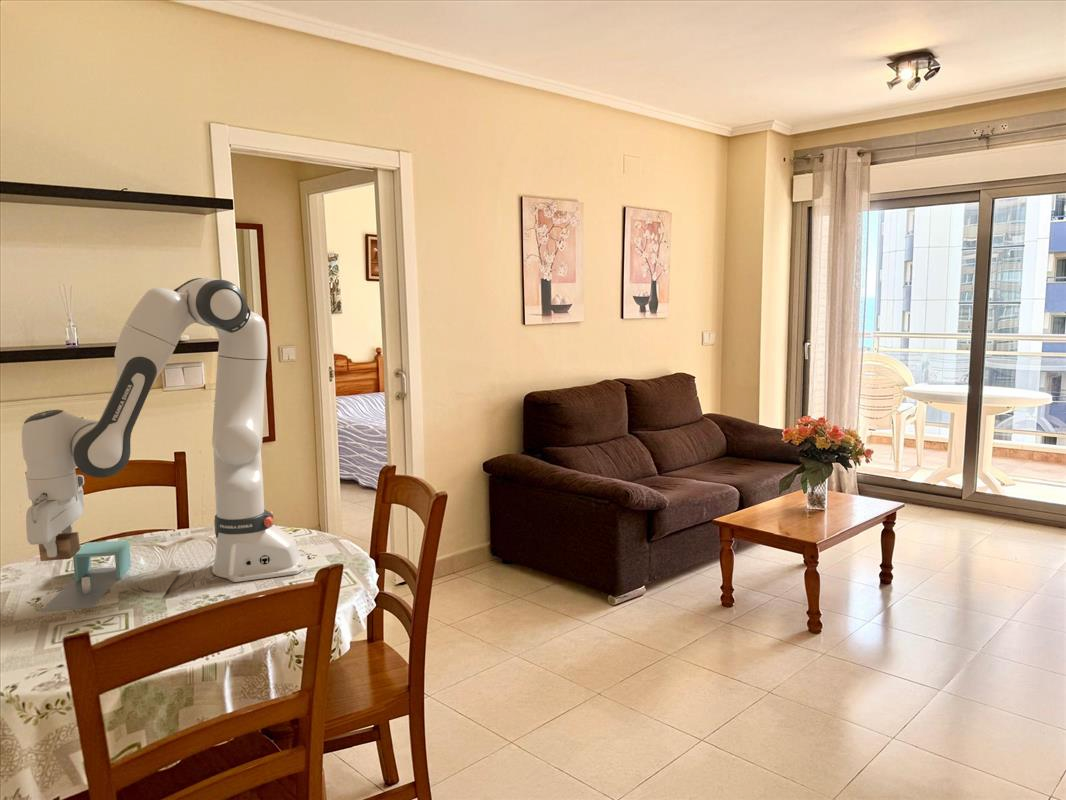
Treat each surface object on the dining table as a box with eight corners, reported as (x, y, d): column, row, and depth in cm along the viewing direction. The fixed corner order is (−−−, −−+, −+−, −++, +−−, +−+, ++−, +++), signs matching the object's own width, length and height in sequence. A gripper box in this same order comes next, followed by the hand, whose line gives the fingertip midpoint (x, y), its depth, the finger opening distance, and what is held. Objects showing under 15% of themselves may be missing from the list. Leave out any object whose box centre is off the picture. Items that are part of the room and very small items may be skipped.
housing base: (128, 570, 184) (127, 552, 183) (93, 612, 160) (91, 592, 160) (83, 573, 182) (82, 555, 181) (41, 615, 158) (39, 595, 158)
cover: (131, 565, 183) (129, 540, 182) (120, 578, 175) (118, 551, 174) (87, 568, 181) (85, 542, 180) (75, 581, 173) (72, 554, 172)
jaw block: (80, 549, 164) (78, 532, 163) (70, 558, 158) (67, 540, 158) (51, 551, 163) (49, 534, 162) (40, 561, 157) (38, 543, 156)
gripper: (48, 500, 149) (56, 566, 151) (86, 474, 168) (93, 533, 171) (13, 503, 147) (21, 569, 150) (55, 476, 167) (62, 535, 169)
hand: (60, 550), depth 160 cm, fingers closed on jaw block, 6 cm apart
